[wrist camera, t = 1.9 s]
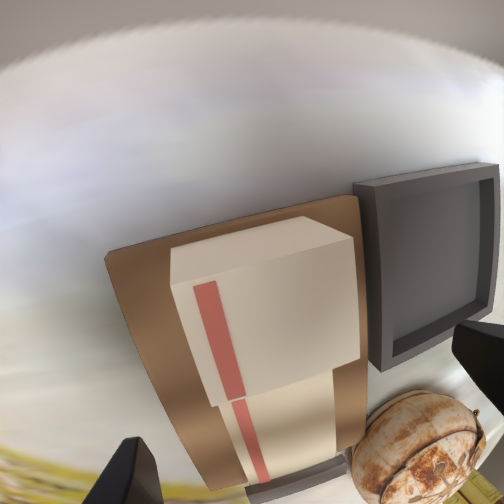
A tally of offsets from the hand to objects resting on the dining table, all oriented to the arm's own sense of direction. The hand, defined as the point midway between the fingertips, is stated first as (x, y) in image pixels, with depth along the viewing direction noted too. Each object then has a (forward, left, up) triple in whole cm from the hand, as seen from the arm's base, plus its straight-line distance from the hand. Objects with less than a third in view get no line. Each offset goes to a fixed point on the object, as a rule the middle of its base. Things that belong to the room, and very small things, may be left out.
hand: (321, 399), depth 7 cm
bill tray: (-2, -12, -9) cm, 15 cm away
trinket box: (-20, -11, -10) cm, 25 cm away
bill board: (-6, 0, -9) cm, 11 cm away
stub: (0, 0, -8) cm, 8 cm away
